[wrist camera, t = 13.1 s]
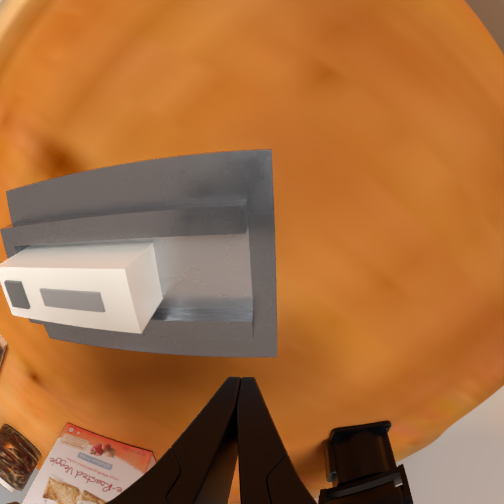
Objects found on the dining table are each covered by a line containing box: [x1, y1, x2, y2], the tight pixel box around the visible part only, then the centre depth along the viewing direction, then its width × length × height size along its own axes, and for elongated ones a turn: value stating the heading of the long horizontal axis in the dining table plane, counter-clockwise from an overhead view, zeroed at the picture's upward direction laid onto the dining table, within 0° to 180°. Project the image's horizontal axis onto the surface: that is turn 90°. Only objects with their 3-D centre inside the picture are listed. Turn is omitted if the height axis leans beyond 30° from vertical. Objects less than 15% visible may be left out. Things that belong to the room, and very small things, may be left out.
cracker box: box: [22, 423, 156, 504], centre depth 21 cm, size 14×6×21 cm, turn 86°
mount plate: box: [0, 149, 277, 357], centre depth 18 cm, size 21×14×3 cm, turn 93°
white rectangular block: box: [0, 242, 163, 334], centre depth 17 cm, size 12×4×4 cm, turn 93°
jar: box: [0, 424, 41, 493], centre depth 32 cm, size 12×12×15 cm
